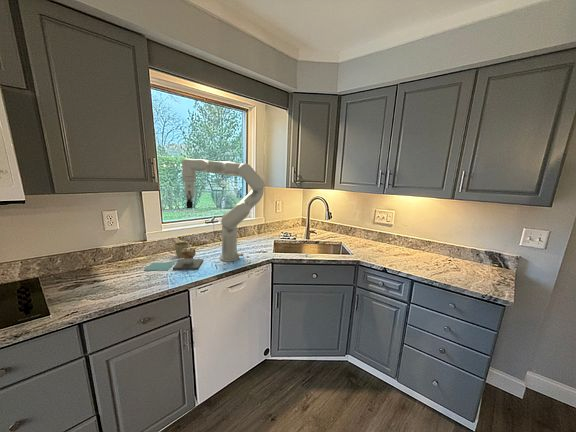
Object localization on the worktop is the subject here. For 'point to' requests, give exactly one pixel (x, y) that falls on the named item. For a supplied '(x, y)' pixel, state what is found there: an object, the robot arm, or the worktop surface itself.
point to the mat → (159, 266)
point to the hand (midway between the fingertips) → (189, 207)
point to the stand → (188, 263)
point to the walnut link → (188, 253)
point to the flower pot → (180, 247)
